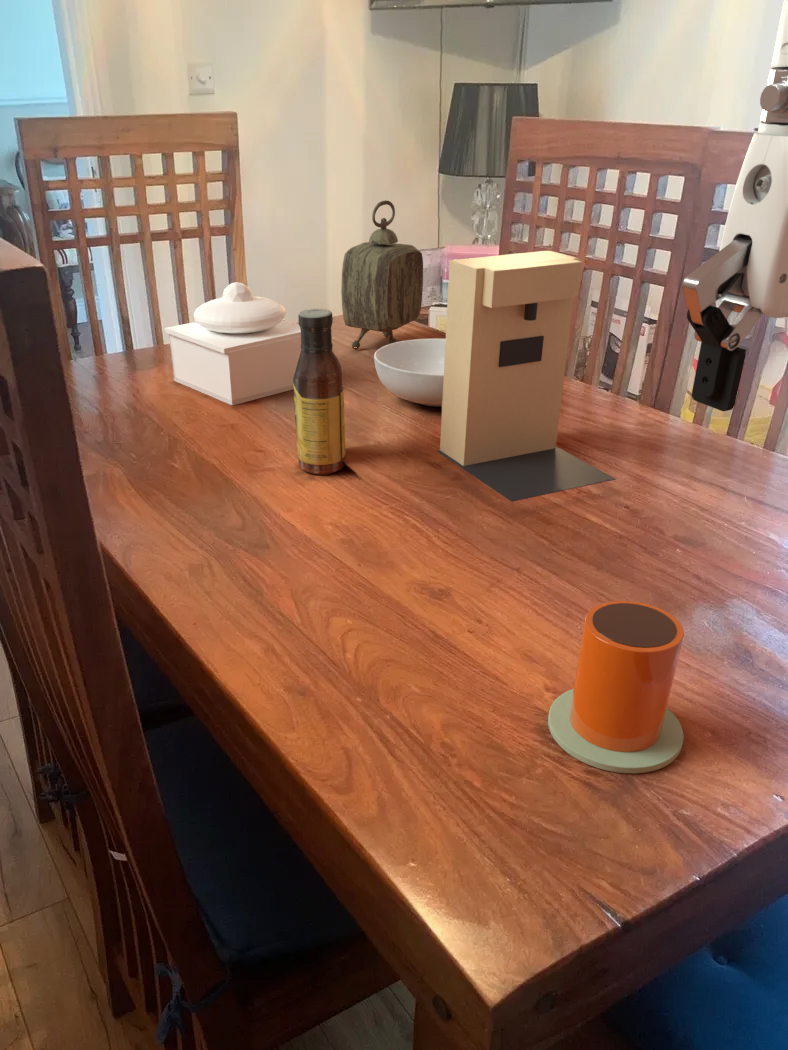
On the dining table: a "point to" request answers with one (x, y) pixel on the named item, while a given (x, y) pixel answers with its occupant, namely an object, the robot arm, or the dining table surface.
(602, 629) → the orange cup
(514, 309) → the coffee maker
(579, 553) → the dining table surface
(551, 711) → the coaster
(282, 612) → the dining table surface
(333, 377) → the sauce bottle
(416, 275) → the tabletop clock
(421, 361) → the serving bowl
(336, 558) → the dining table surface
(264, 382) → the white lidded box
